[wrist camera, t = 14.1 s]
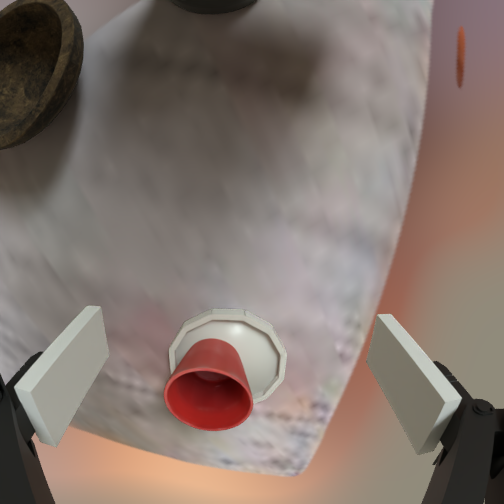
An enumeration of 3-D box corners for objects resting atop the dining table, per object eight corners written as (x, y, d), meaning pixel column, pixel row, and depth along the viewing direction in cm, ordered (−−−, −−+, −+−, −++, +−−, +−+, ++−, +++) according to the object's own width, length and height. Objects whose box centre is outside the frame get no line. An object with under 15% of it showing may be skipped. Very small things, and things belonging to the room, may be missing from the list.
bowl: (-22, 120, 34) (-62, 117, 24) (42, 6, 30) (11, -17, 20) (55, 177, 38) (12, 182, 28) (135, 41, 34) (109, 11, 24)
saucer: (168, 306, 43) (165, 311, 41) (289, 310, 43) (291, 316, 42) (176, 397, 47) (174, 404, 45) (278, 401, 48) (280, 408, 46)
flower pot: (215, 399, 46) (211, 443, 37) (162, 356, 44) (146, 397, 35) (265, 362, 45) (271, 405, 35) (211, 313, 43) (204, 351, 33)
